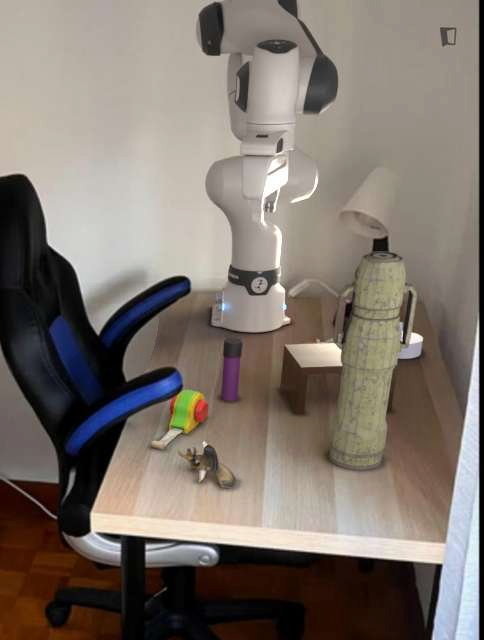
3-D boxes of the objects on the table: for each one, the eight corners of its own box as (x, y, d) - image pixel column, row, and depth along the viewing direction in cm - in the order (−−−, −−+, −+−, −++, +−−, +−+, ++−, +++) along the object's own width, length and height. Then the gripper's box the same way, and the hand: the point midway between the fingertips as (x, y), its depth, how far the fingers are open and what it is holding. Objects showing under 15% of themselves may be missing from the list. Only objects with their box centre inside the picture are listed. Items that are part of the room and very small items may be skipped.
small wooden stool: (280, 389, 196) (284, 344, 192) (369, 386, 196) (375, 341, 192) (296, 414, 185) (301, 367, 180) (391, 411, 185) (398, 364, 180)
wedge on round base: (356, 354, 213) (419, 360, 209) (360, 324, 210) (424, 330, 205) (360, 341, 220) (421, 347, 216) (364, 313, 217) (426, 317, 213)
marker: (218, 395, 194) (222, 338, 189) (236, 395, 194) (240, 337, 189) (222, 402, 191) (225, 343, 186) (239, 401, 191) (244, 343, 186)
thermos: (312, 449, 171) (335, 249, 155) (379, 446, 171) (409, 246, 155) (328, 471, 163) (354, 263, 147) (398, 468, 163) (431, 260, 147)
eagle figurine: (170, 474, 161) (212, 481, 155) (181, 432, 162) (225, 439, 155) (197, 485, 166) (239, 493, 160) (208, 445, 167) (251, 451, 160)
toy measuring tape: (217, 416, 185) (219, 384, 182) (171, 453, 171) (173, 419, 168) (186, 410, 188) (188, 378, 185) (139, 446, 174) (140, 412, 171)
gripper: (266, 131, 186) (261, 205, 193) (237, 145, 170) (232, 226, 176) (300, 132, 184) (293, 207, 190) (273, 146, 168) (267, 228, 174)
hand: (263, 216), depth 183 cm, fingers open, 8 cm apart
